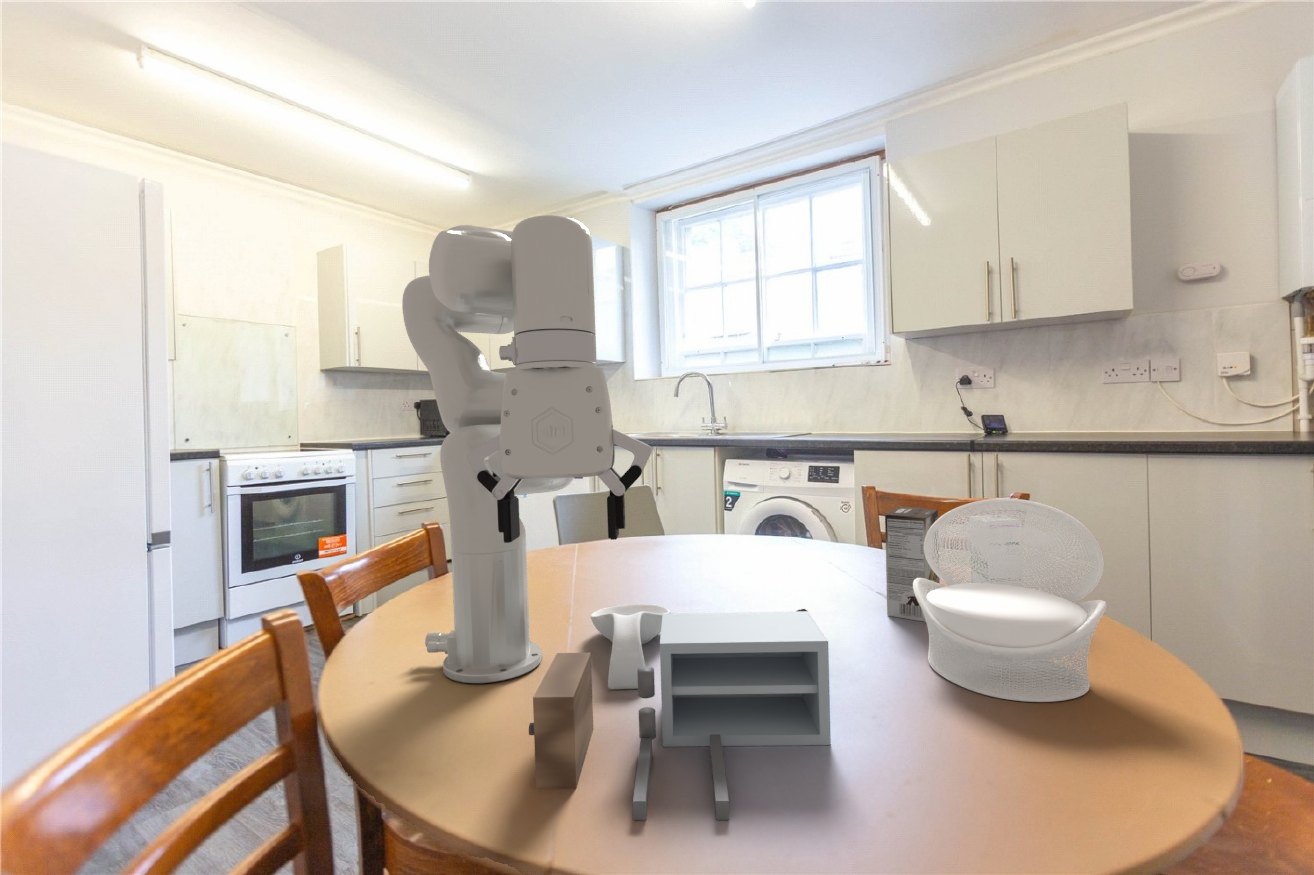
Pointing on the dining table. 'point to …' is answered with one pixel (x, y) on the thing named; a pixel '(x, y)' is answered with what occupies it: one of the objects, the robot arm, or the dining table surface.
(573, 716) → the door
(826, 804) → the dining table surface
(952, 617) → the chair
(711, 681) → the cabinet
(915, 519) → the coffee box
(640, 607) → the spoon rest
